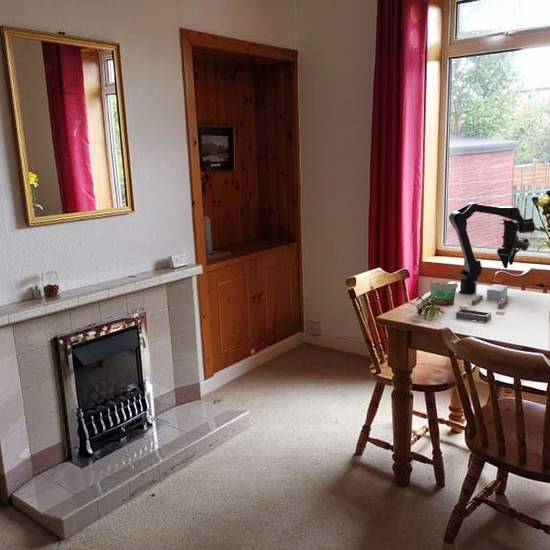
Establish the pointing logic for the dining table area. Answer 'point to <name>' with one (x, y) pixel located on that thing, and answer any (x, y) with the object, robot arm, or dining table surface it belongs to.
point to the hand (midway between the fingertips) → (508, 266)
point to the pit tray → (473, 315)
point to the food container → (443, 293)
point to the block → (497, 292)
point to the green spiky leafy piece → (432, 308)
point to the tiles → (496, 311)
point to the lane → (500, 304)
